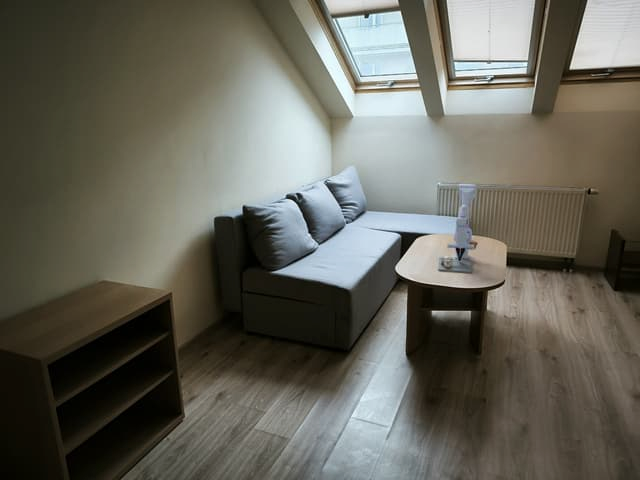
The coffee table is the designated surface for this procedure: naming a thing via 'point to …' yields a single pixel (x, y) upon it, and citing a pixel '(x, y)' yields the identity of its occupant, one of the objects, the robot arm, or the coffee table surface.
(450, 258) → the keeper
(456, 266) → the board
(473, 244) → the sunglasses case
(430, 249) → the coffee table surface
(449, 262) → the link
